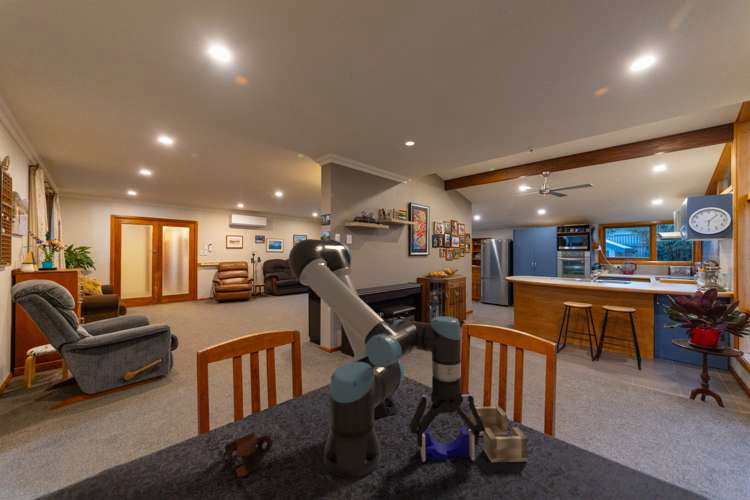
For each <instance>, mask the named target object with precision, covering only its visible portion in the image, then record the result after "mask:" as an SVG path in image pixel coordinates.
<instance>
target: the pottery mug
mask: <svg viewBox="0 0 750 500" xmlns="http://www.w3.org/2000/svg"><path fill="white" fill-rule="evenodd" d="M265 442H266V446H265V448H263V444H264V443H265ZM273 442H274V440H272V437H271V436H270V435H263V436H261V437H257V436H256V435H255V432H254V431H253V432H252V431H251V432H250V433H248V434H246V435H244V436H242V437H239V438H237V439H235V440H233V441H231V442H229V443H227V444H226V445H224V450H225V451H224V453H223V456H222V460H223V461H224V460H225V458H227V459H230V458H232V456H233V453H234V452H235V453H236V456H237V457H240V458H241V460H242V462H243V464H242V465H240V466H239V467H237V468H236V469H235V472H236V474H237V477H238V476H243V477H245V476H246V475H248V474H250V473H253V472H255V471H256V470H258V469H260V467H261V462H262V460H263V459H264V457H265V456H266V455H267V454H268V453H270V452H271V450H272V447H273Z"/></svg>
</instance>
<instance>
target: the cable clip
mask: <svg viewBox="0 0 750 500" xmlns="http://www.w3.org/2000/svg"><path fill="white" fill-rule="evenodd" d="M424 434H425V460H439V461H440V460H441V461H443V460H446V461H448V457H467V458H469V457H470V456H469V434H468V429H467V428H466V427H460V428H459V434H458V435H457V437H456V438H455V439H454V440H453V441H451V442H448V443H442V442H438V441H437V440H435V439H434V438H433V437H432V435H431V434H430V430H429V427H428V428H427V429H426V430H425V432H424Z"/></svg>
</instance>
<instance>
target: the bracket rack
mask: <svg viewBox="0 0 750 500" xmlns="http://www.w3.org/2000/svg"><path fill="white" fill-rule="evenodd" d="M475 408H476V410H477V412H478V414H479V417H480V419H481V421H482V423H483V425H484V428H485V431H484V432H482V431H481V432H479V433H480V435H479V436H478V437H483V450H484V452H485V454H486V456H487V458H488V460H489V461H490V462H491V463H521V462H526V463H527V462H528V437H526V435H525V434H524V433H523V432H522V430H520V429H519V427H518V426H512V427H511V435H510V436H508V414H507V413H506V412H505V411H504V409H503V408H501V406H475ZM469 419H470V420H471V421H472V423H473V424H474V425H476V424H477V423H476V421H475V419H474V417H473V414H472V412H471V410H470V409H469Z"/></svg>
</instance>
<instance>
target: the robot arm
mask: <svg viewBox="0 0 750 500" xmlns="http://www.w3.org/2000/svg"><path fill="white" fill-rule="evenodd" d="M352 256H353V255H352V253H351V250H350V248H349V246H347V245H346V244H345V243H344V242H342V241H339V240H335V239H311V238H310V239H308V238H307V239H303V240H300V241H298V242H297V243H295V244H294V245H293V247H292V248H291V250H290V252H289V255H288V265H289V269H290V271H291V273H292V274H293V276H294V277H295V278H296V280H297V281H299V283H300V284H301V285H303V286H308V287H309V288H310V289H311V290H312V291H313V292H314V293H315V294H316V295H317V297H319V298H320V299H321V300H322V301H323V302H324V303H325V304H326V305H327V306H328V307H329V308H330V309H331V310H332V311H333V312H334V314H336V315H337V316H338V318H339V320H340V322H341V323H340V324H341V325H342V328H343V330H344V333H345V335H346V337H347V340H348V343H349V344H350V346H351V349H352V351H353V353H354V356H353V358H352V362H350V363H349V362H346V363H344V364H342V365H340V366H339V367H337V368H336V369H335V370H334V371H333V372H332V374H331V377H330V385H329V397H330V398H329V403H330V404H329V405H330V407H329V408H330V409H329V411H330V415H329V416H330V419H329V420H330V428H329V429H330V430H329V433H328V436H327V439H326V443H325V446H324V449H323V463H324V466H325V468H326V470H327V471H328V472H329V473H331V474H332V475H335V476H336V477H339V478H344V479H345V478H346V479H357V478H362V477H365V476H366V475H369V474H371V473H372V472H373V471H375V470H376V468H377V467H378V466H379V464H380V462H381V458H382V457H381V455H382V450H381V449H382V448H381V445H380V441H379V438H378V435H377V432H376V429H375V417H374V408H375V407H376V406H377V405H379V404H380V403H381V402H382V401H384V400H385V399H386V398H387V397H389V396H390V395H391V396H392V395H393V394H395V393H396V391H398V389H399V388H401V387H400V386H401V385H402V383H403V382H404V378H405V369H404V365H403V363H402V361H401V359H402V358H403V357H405V356H406V355H409V354H410V353H412V352H413V351H414V350H417V351H421V352H422V351H424V352H428V353H429V352H430V353H431V374H432V377H431V387H432V388H431V389H432V391H431V394H430V395H429V394H428V395H427V394H426V395H425V393H420V395H419V403H418V405H417V408H416V410H415V413H414V415H413V417H412V419H411V421H410V424H409V429H410V433H411V434H413V435H414V434H416V444H417V447H418V448H420V457H421V461H422V462H426V459H425V434H424V432H425V430H426V429H427V428H428V429H429V426H430V425H431V423H432V422H433V421H434V420H435V418H436V417H438V416H439V415H440V413H441V414H447V413H448V414H454V413H455V412H456V413H457V414H458V415H459V417H460V418H462V420H463V421H464V422H465V425H467V426H468V427H469V428H468V429H467V432H468V434H469V457H470V459H471V461H475V460H476V459H475V452H476V451H475V447H477V446H478V444H479V437H480V436H479V435H480V433H479V432H481V431H482V432H484V431H485V428H484V425H483V423H482V421H481V419H480V417H479V414H478V412H477V410H476V408H475V407H476V405H475V401H474V397H473V395H472V393H471V392H466V393H465V394H462V379H461V377H462V370H461V369H462V364H461V363H462V362H461V361H462V358H461V356H462V355H461V353H462V352H461V351H462V350H461V349H462V347H461V344H462V341H461V339H462V335H461V323H460V321H459V319H457V318H455V317H452V316H448V315H447V316H443V315H441V316H435V317H433V318H432V319H431V322H430V323H429V322H421V321H415V320H410V319H396V320H394V321H393V323H392V324H391V325H390V324H388V323H387V322H386V321H385V320H384V319H383V318H382V317H381V316H379V314H378V313H376V312H375V310H373V308H371V307H370V306H369V304H367V303H366V302H365V301H363V299H362V298H360V296H359V293H358V292H357V290H356V287H355V285H354V283H353V281H352V278H351V272H352V268H351V265H352V261H351V260H353V258H352ZM463 401H464V402H465V403H466V405H467V406H468V408H469V411H470V410H471V412H472V414H473V417H474V419H475V421H476V423H477V424H476V425H474V424H473V423H472V421H471V420H470V417H469V416H468V415H467V414H466V413H465V411H464V410H463V409H462V408H461V405H462V403H463ZM430 402H432V404H431V406H430V408H429V410H428V411H427V413H425V410H426V408H427V406H428V405H429V403H430ZM424 413H425V415H424ZM423 416H424V417H423Z"/></svg>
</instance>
